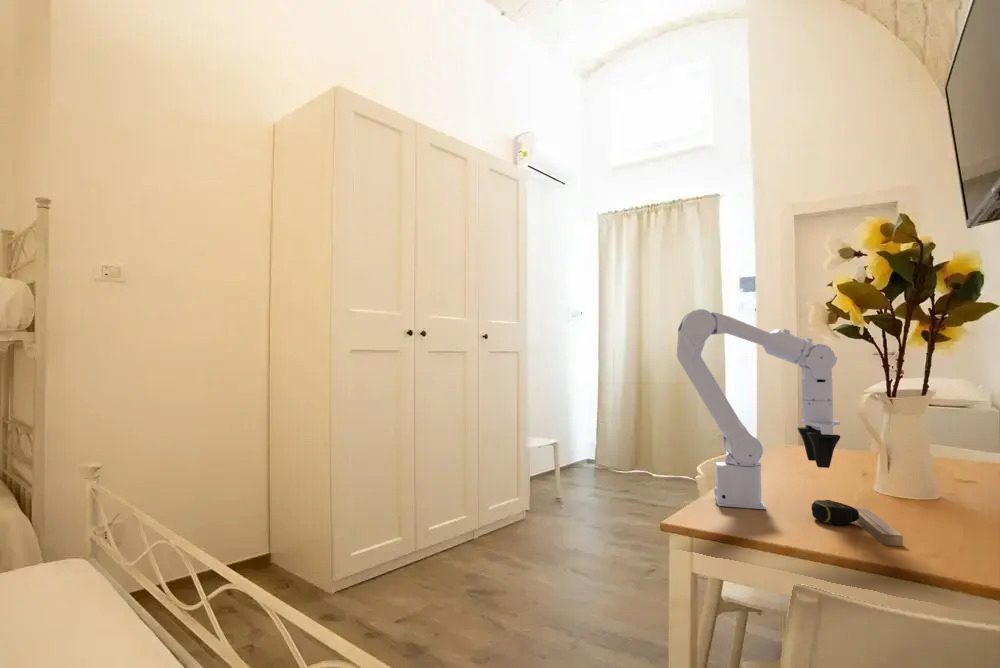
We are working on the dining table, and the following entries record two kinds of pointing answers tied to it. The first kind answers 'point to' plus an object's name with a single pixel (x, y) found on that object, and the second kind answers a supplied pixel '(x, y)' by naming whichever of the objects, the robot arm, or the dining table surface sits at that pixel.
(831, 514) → the tape measure
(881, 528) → the board
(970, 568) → the dining table surface
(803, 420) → the robot arm
